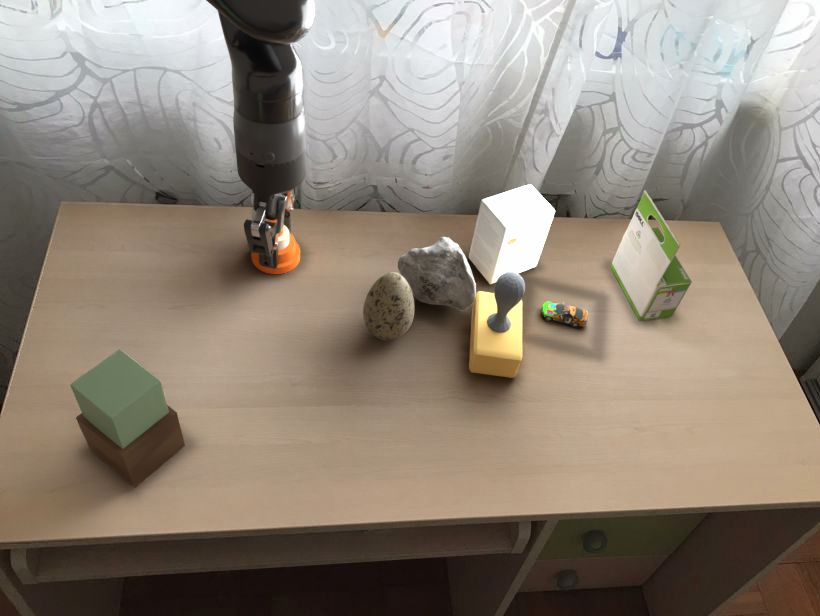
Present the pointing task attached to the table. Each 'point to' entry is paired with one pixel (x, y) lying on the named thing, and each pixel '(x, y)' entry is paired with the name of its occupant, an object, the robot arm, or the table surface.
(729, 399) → the table surface
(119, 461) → the walnut block
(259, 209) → the robot arm
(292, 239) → the cone
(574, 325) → the toy car
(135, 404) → the sage block
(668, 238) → the ink box
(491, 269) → the small box
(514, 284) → the rubber stamp
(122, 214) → the table surface
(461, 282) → the stone
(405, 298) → the decorative egg
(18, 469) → the table surface
